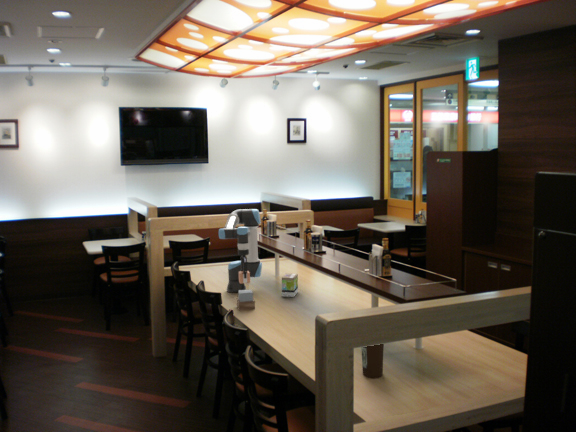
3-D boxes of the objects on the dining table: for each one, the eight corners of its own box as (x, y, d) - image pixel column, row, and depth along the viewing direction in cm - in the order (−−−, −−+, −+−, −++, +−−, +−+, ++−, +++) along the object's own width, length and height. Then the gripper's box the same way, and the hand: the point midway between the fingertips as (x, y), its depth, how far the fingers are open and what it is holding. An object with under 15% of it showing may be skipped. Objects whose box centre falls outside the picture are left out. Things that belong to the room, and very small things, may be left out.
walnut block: (237, 306, 366) (236, 298, 366) (252, 305, 369) (252, 297, 368) (239, 310, 356) (238, 302, 355) (255, 309, 358) (254, 301, 358)
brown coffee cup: (380, 368, 251) (379, 319, 249) (386, 378, 241) (386, 326, 238) (358, 370, 250) (358, 320, 247) (364, 379, 240) (364, 327, 237)
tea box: (294, 297, 387) (294, 277, 385) (281, 296, 389) (281, 277, 387) (298, 291, 401) (297, 273, 400) (285, 291, 403) (285, 273, 402)
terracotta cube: (238, 281, 363) (238, 271, 362) (248, 280, 364) (248, 270, 364) (240, 283, 356) (239, 273, 355) (250, 282, 358) (249, 272, 357)
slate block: (238, 298, 365) (238, 290, 364) (251, 297, 367) (250, 289, 366) (240, 301, 356) (239, 293, 356) (253, 300, 358) (252, 292, 358)
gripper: (236, 247, 367) (237, 278, 369) (239, 251, 347) (241, 285, 350) (246, 246, 368) (247, 278, 371) (250, 251, 349) (252, 284, 351)
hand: (244, 281), depth 360 cm, fingers closed on terracotta cube, 7 cm apart
